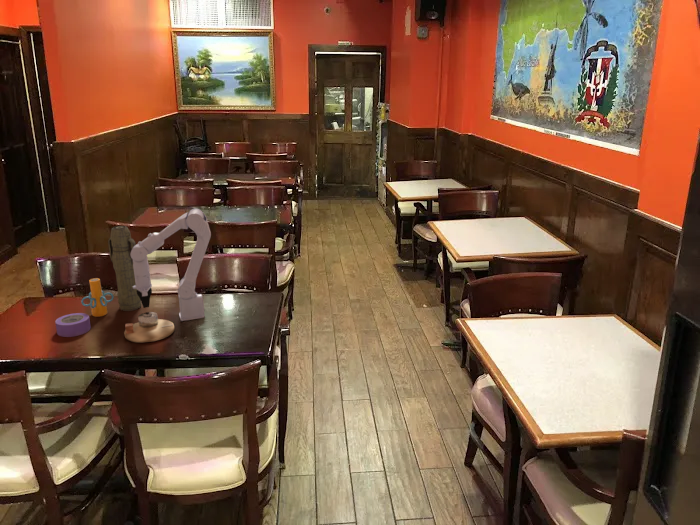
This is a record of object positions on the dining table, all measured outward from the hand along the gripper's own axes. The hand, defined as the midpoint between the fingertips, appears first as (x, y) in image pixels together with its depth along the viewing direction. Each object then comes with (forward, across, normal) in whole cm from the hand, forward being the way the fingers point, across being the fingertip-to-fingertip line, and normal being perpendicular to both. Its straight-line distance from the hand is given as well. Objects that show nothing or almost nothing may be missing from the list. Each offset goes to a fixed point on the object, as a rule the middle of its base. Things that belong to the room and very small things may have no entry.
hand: (146, 306), depth 225 cm
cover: (+4, +8, 0) cm, 9 cm away
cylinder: (+6, -14, -18) cm, 24 cm away
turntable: (+6, +13, 0) cm, 14 cm away
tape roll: (+6, -1, -27) cm, 28 cm away
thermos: (+6, -17, -6) cm, 19 cm away
